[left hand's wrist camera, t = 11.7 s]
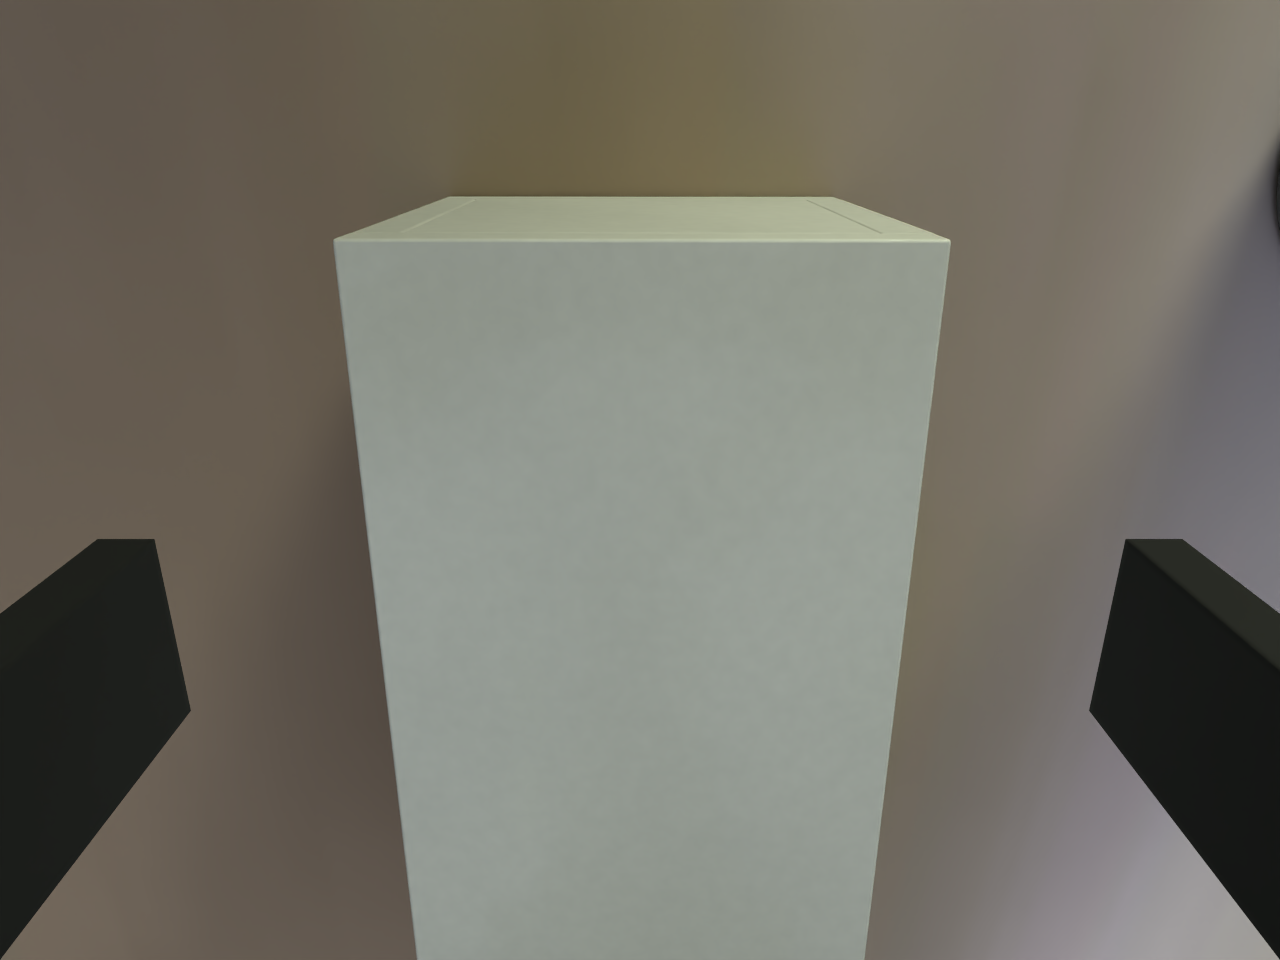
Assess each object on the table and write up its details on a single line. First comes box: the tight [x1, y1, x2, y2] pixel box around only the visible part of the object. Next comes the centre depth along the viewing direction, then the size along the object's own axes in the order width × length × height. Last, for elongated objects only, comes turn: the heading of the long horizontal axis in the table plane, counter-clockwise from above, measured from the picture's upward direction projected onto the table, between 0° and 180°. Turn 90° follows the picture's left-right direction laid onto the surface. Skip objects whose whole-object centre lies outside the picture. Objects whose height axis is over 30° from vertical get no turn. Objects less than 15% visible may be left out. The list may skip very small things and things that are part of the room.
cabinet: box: [333, 197, 951, 960], centre depth 26 cm, size 18×12×11 cm, turn 0°
